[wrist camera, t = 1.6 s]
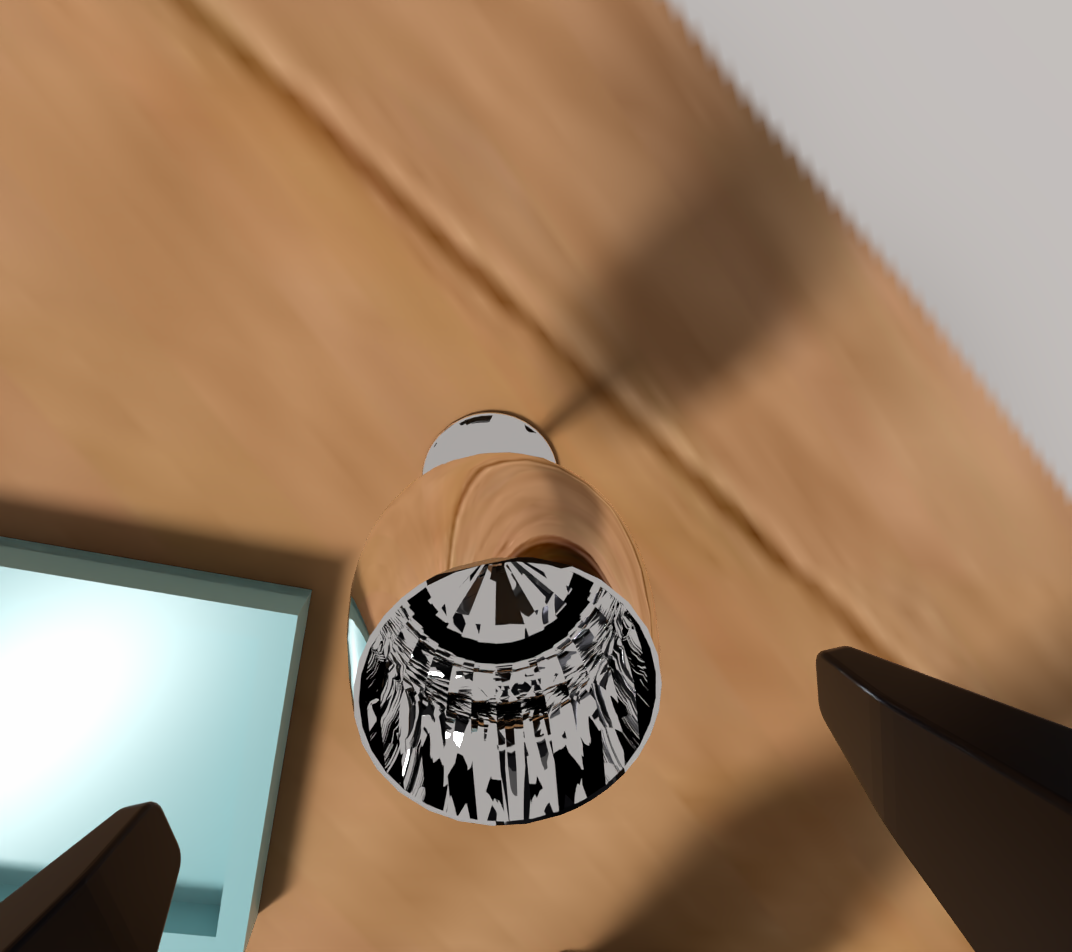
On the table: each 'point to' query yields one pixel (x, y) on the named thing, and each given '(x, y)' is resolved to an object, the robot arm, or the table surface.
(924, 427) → the table surface
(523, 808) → the wineglass
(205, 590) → the tray
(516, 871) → the table surface
